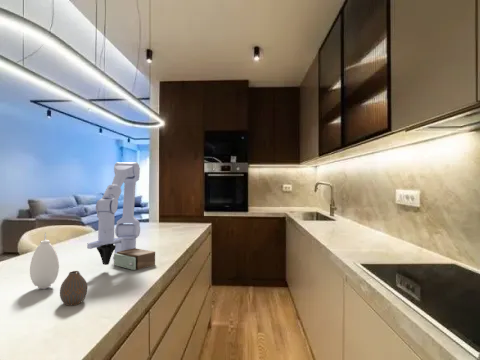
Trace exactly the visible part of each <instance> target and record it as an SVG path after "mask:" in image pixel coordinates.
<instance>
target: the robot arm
mask: <svg viewBox="0 0 480 360" xmlns="http://www.w3.org/2000/svg"><path fill="white" fill-rule="evenodd" d="M140 169H141V168H140V164H139V163H138V162H136V161H135V162H125V161H123V162H121V161H116V162H115V163H114V167H113V172H114V177H113V180H112V183H111V184H109V185H108V186H107V188H106V190H105V191H104V193H103V196H102V198H100V199H98V200H97V201H96V203H95V212H96V216H97V218H98V230H97V232H98V235H97V236H98V240H95V241H92V242H88V243H87V245H86V246H87V249H90V250H92V249H95V248H96V250H97V251H98V253H99V255H100V258H101V262H102V265H105V266H107V265H109V264H110V261H111V258H113V259H114V254H115V253H117V252H119V251H124V250H128V249H133V248H136V249H137V238H138V237H140V233H141V226H140V220H138V219H137V218H136V217H135V216H134V215H135V199H136V186H137V185H136V183H137V182H139V180H140V173H141V172H140ZM123 184H124V187H123V188H124V189H123V203H122V217H120V219H118V220H117V221H116V225H115V215H116V213H117V211H118V207H119V206H118V205H119V198H120V196H121V193H122V188H121V187H122V186H123ZM115 237H116V238H115ZM112 255H113V256H112Z"/></svg>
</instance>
